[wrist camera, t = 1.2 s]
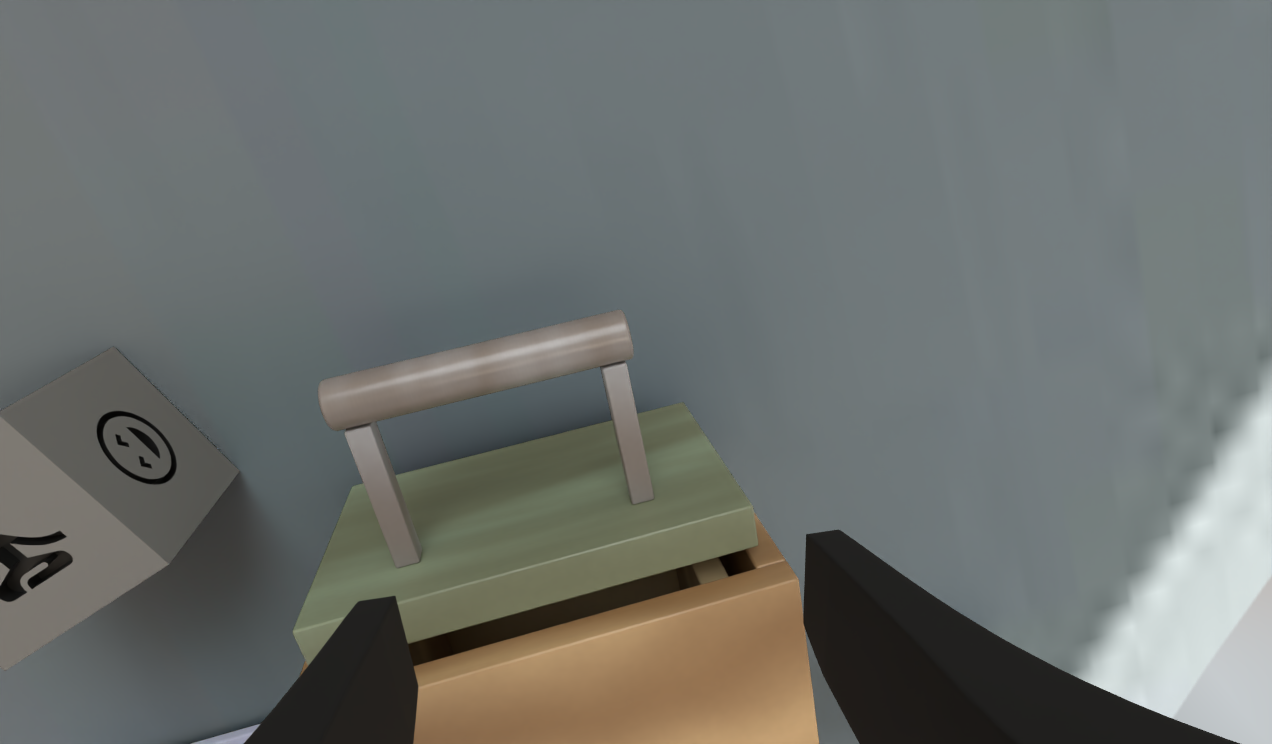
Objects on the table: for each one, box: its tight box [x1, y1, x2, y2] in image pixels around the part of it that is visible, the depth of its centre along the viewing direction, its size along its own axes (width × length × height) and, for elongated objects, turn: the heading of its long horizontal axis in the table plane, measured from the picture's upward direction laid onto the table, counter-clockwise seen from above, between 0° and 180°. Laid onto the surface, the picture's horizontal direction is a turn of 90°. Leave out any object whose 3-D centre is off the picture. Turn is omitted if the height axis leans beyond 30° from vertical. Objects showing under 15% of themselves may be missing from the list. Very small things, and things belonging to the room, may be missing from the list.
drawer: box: [293, 310, 758, 666], centre depth 20 cm, size 18×11×7 cm, turn 11°
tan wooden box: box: [300, 513, 819, 744], centre depth 22 cm, size 14×12×9 cm
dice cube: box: [0, 347, 239, 671], centre depth 19 cm, size 5×5×5 cm
